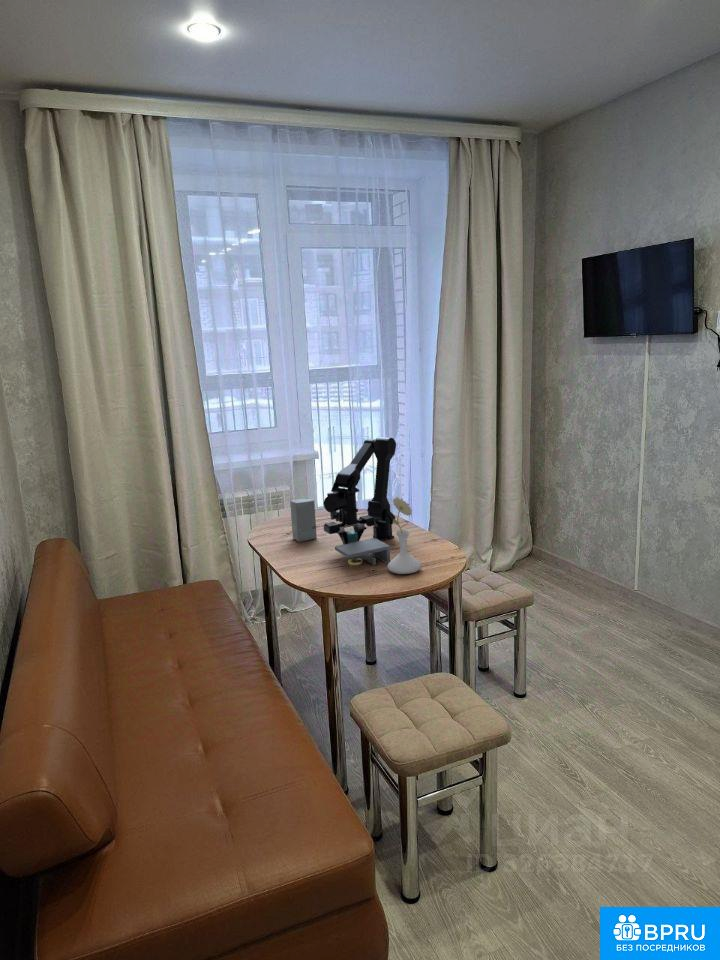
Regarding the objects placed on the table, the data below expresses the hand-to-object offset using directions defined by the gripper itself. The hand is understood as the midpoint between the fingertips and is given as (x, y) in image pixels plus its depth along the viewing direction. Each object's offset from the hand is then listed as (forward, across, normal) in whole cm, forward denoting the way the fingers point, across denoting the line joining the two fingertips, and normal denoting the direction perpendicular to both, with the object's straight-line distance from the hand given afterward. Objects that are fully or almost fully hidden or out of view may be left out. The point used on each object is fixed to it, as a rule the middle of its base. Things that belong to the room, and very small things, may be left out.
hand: (351, 546), depth 244 cm
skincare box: (+2, +8, -26) cm, 27 cm away
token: (+2, +5, +14) cm, 15 cm away
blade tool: (+1, 0, +8) cm, 8 cm away
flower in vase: (+2, -6, +28) cm, 29 cm away
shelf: (+2, +2, +14) cm, 14 cm away
